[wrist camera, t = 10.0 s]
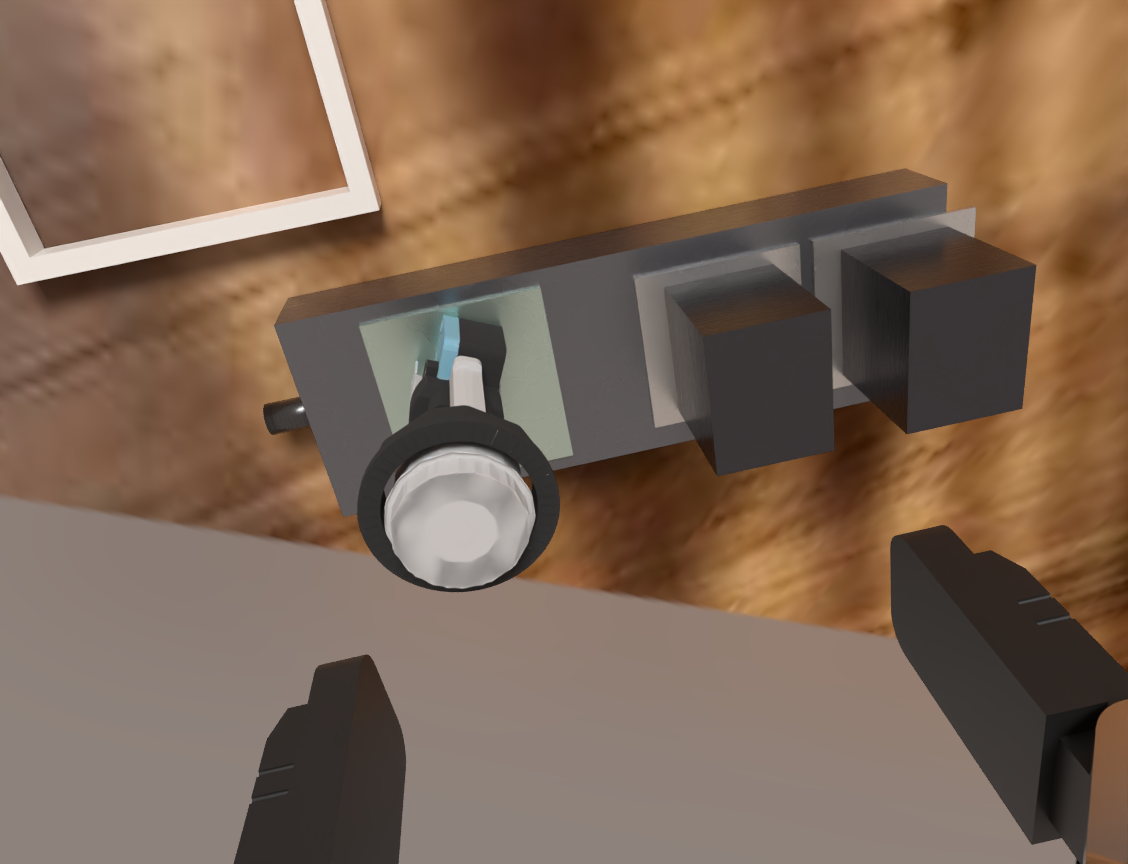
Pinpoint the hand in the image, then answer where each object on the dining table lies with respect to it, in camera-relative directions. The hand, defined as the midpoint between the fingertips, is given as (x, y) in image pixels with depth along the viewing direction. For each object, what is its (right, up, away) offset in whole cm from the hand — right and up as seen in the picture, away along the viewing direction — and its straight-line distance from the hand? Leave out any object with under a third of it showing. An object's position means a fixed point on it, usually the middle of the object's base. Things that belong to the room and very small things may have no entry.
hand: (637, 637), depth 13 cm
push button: (-5, +5, +18) cm, 19 cm away
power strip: (+1, +7, +21) cm, 22 cm away
